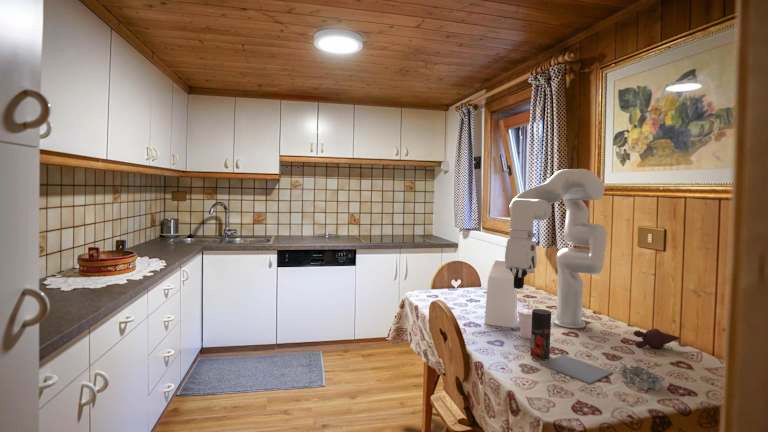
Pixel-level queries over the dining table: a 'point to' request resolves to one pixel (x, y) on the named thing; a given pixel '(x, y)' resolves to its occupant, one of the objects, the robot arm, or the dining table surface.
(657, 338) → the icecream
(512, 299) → the milk
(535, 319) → the deodorant
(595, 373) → the felt mat
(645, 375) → the egg carton
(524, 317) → the smoothie
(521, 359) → the dining table surface
